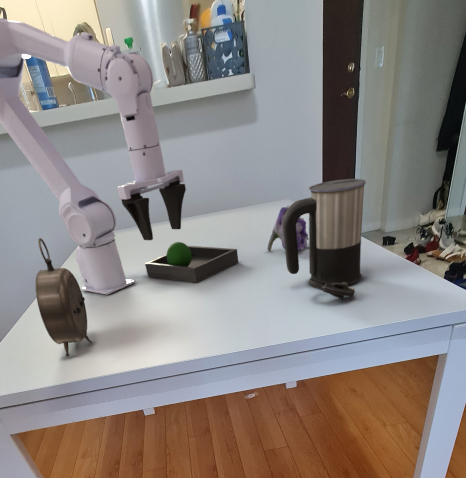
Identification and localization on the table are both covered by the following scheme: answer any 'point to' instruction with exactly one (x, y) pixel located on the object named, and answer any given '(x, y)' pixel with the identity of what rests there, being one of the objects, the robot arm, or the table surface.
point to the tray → (194, 264)
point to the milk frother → (329, 235)
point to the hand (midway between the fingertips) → (162, 234)
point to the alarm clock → (61, 304)
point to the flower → (278, 231)
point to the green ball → (179, 254)
